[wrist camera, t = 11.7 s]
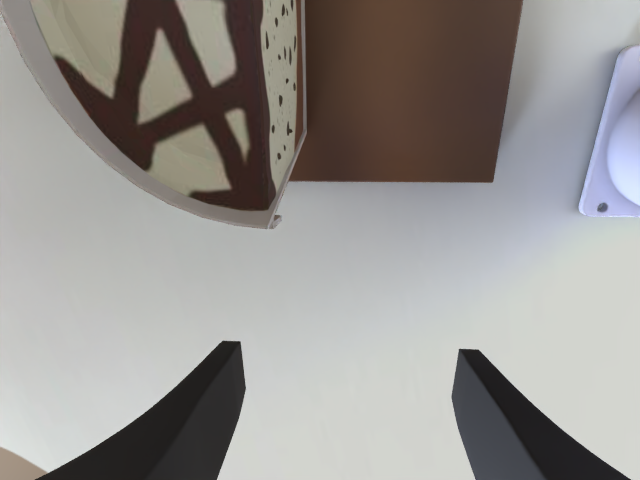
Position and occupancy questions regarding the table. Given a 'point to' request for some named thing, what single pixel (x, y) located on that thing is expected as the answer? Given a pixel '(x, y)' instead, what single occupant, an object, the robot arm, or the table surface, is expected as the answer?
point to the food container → (178, 93)
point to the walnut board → (406, 89)
